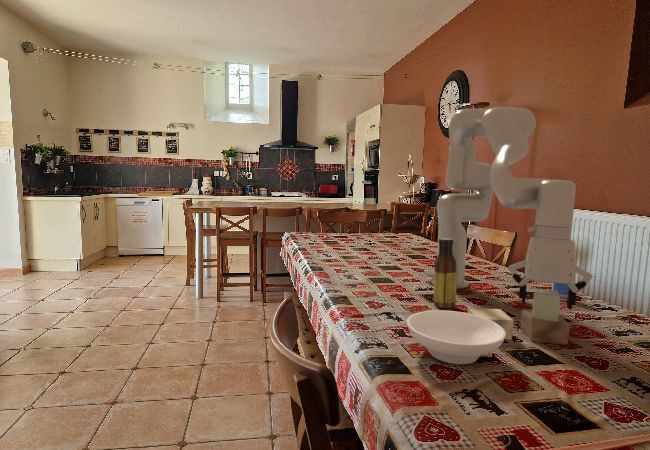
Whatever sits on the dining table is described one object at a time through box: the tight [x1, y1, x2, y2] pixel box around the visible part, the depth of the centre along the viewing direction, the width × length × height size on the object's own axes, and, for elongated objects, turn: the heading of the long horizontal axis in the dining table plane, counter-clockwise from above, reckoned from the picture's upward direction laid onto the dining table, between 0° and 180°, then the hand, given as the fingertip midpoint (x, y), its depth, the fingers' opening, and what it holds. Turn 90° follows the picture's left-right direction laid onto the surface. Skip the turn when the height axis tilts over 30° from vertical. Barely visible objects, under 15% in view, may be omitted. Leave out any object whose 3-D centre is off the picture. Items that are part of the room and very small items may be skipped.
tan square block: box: [519, 309, 571, 345], centre depth 99 cm, size 8×8×5 cm
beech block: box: [467, 307, 514, 341], centre depth 100 cm, size 8×8×5 cm
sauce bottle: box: [433, 238, 457, 310], centre depth 119 cm, size 7×6×20 cm
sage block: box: [531, 288, 561, 322], centre depth 98 cm, size 5×5×6 cm
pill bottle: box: [551, 283, 570, 302], centre depth 130 cm, size 6×5×10 cm
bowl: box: [406, 309, 506, 365], centre depth 86 cm, size 20×20×7 cm
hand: (545, 304), depth 98 cm, fingers open, 9 cm apart
